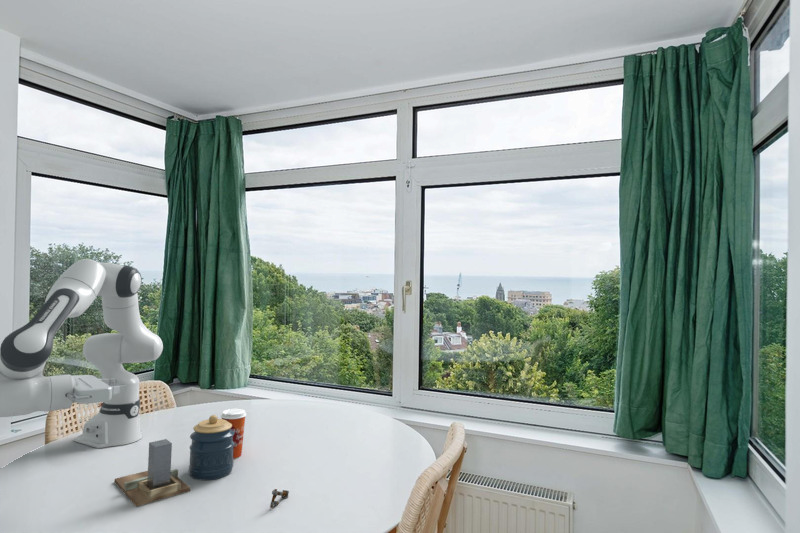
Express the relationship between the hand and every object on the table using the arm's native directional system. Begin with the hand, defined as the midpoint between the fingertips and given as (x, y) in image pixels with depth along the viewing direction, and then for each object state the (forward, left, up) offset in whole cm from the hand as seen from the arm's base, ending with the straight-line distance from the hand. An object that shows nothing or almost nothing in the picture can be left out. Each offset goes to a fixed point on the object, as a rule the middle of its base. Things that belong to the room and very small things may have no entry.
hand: (121, 384), depth 134 cm
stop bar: (+12, +2, -29) cm, 31 cm away
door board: (+7, +5, -30) cm, 31 cm away
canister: (+17, +19, -30) cm, 39 cm away
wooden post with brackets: (+46, +8, -30) cm, 56 cm away
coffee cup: (+15, +33, -30) cm, 47 cm away
